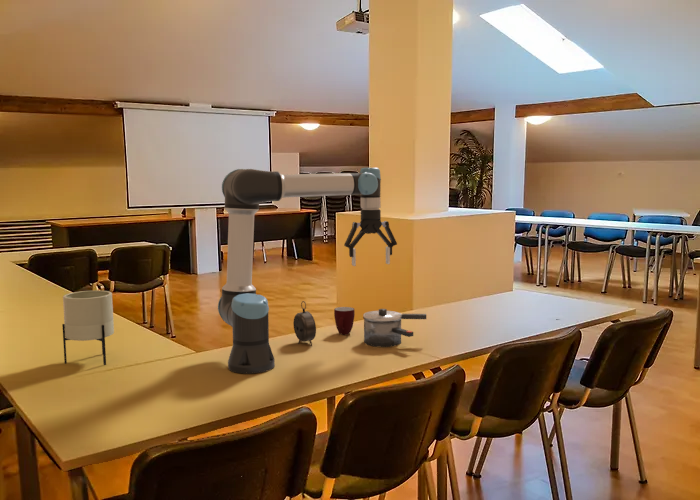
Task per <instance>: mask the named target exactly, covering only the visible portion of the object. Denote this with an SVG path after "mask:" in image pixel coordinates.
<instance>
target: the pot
mask: <svg viewBox="0 0 700 500" xmlns="http://www.w3.org/2000/svg"><path fill="white" fill-rule="evenodd" d="M402 336H405V337H407V338H410V337H414V331H412V330H407V329H403V328H402V319H401V320H399V321H395V322H371V321H367V320H365V319H364V318H363V343H364V344H365V345H367V346H370V347H375V348H376V347H378V348H388V347H389V348H390V347H396V346H399V345H401V344H402Z"/></svg>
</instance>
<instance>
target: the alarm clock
mask: <svg viewBox="0 0 700 500" xmlns="http://www.w3.org/2000/svg"><path fill="white" fill-rule="evenodd" d="M303 303H304V305H305V306H304V308H303ZM300 306H301V309H302V311H300V312H297V313H296V314H295V315H294V318H293V331H294V333H295V336H296V337H297V339H298V343H297V344H298V345H299V344H300V342H303V343H305V342H309V344H310V346H312V347H313V343H312V341H313V340H314V339H315V337H316V335H317V325H316V321H315V319H314V316H313V315H312V313H311V312H310V311H307V310H306V309H307V304H306V301H304V300H302V301H301V304H300ZM305 310H306V311H305Z"/></svg>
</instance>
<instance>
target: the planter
mask: <svg viewBox="0 0 700 500" xmlns="http://www.w3.org/2000/svg"><path fill="white" fill-rule="evenodd" d="M62 302H63V304H62V305H63V321H64V323H62V340H63V357H64V358H63V359H64V361H63V362H64V364H65V365H66V364H67V363H68V362H67V361H68V360H67V346H66V345H67V344H66V341H79V342H80V341H82V342H84V341H94V340H96V341H99V342H101V350H102V351H101V352H102V360H103V366H106V365H107V357H106V356H107V355H106V351H107V350H106V338H108V337H111V336H112V335H113V334H114V333H115V327H114V325H115V324H114V305H113V303H114V302H113V292H111V291H109V290H97V289H95V290H83V291H75V292H70V293H65V294H64V295H63V296H62Z"/></svg>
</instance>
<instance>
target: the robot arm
mask: <svg viewBox="0 0 700 500" xmlns="http://www.w3.org/2000/svg"><path fill="white" fill-rule="evenodd" d="M381 182H382V179H381V170H380V168H379V167H362V168H360V171H359V172H338V173H336V172H334V173H298V174H297V173H294V174H292V173H291V174H288V173H286V174H284V173H283V174H282V173H280V172H279V171H270V170H269V171H268V170H267V171H266V170H260V169H254V168H253V169H252V168H246V169H244V168H238V169H237V168H236V169H234V170H232V171H230V172H229V173H227V175H225V176H224V178H223V180H222V183H221V192H222V195H223V197H224V209H225V211H227V213H228V229H227V231H228V232H227V255H226V256H227V260H226V261H227V262H226V265H227V266H226V283H225V284H224V285H223V286H222V287H221V296H220V298H219V300H218V304H217V311H218V314H219V316H220V319H222V320H223V322H225V324H227V325H229V326H230V327H232V348H231V350H230V352H229V356H228V360H227V369H228V370H229V371H230V372H232V373H237V374H245V375H246V374H247V375H248V374H249V375H250V374H259V373H265V372H267V371H270V370H272V369H274V368H275V365H276V364H275V356H274V353H273V352H272V348H271V345H270V339H269V338H270V337H269V336H270V333H269V330H270V329H269V328H270V327H269V326H270V325H269V311H270V308H269V301H268V299H267V298H266V297H265V296H264V295H261V294H257V288H256V287H255V285H253V258H254V237H255V235H254V234H255V232H254V231H255V215H256V214H257V213H258V211H259V210H260V204H262V203H263V204H264V203H267V202H268V203H269V202H280V201H281V200H282V199H286V198H306V197H326V196H327V197H328V196H329V197H330V196H354V195H355V196H359V195H360V208H361V209H360V222H355V221H353V222H352V224H351V225H352V226H351V229H350V231H349V234H348V235H347V238H346V240H345V242H344V246H343V247H345V248H348V250H349V251H348V253H349V254H348V255H349V257H350V258H351V265H352V266H353V267H357V266H356V264H357V263H356V261H357V258H356V257H357V255H356V254H357V252H356V248H355V246H356V245H358V243H359V242H360V240H361V239H362V238H363V236H364V235H365V234H367V235H371V234H374V235H375V234H377V235H378V236H379V237H380V238H381V239H382V241H383V242H384V243H385V244H386V246H385V264H387V265H390V264H391V256H392V255H393V248H394V246H396V245H398V241H397V240H396V238H395V236H394V234H393V231H392V229H391V228H390V223H389V221H387V220H384V221H381V219H382V218H381V216H382V215H381V206H382V205H381ZM359 227H360V228H361V229H360V230H359V232H358V233H357V235H356V236H355V234H356V232H357V229H359ZM381 227H383V228H384V230H385V232H386V234H387V236H386V235H385V234H384V233H383V231H382V230H381ZM354 236H355V237H354Z"/></svg>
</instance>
